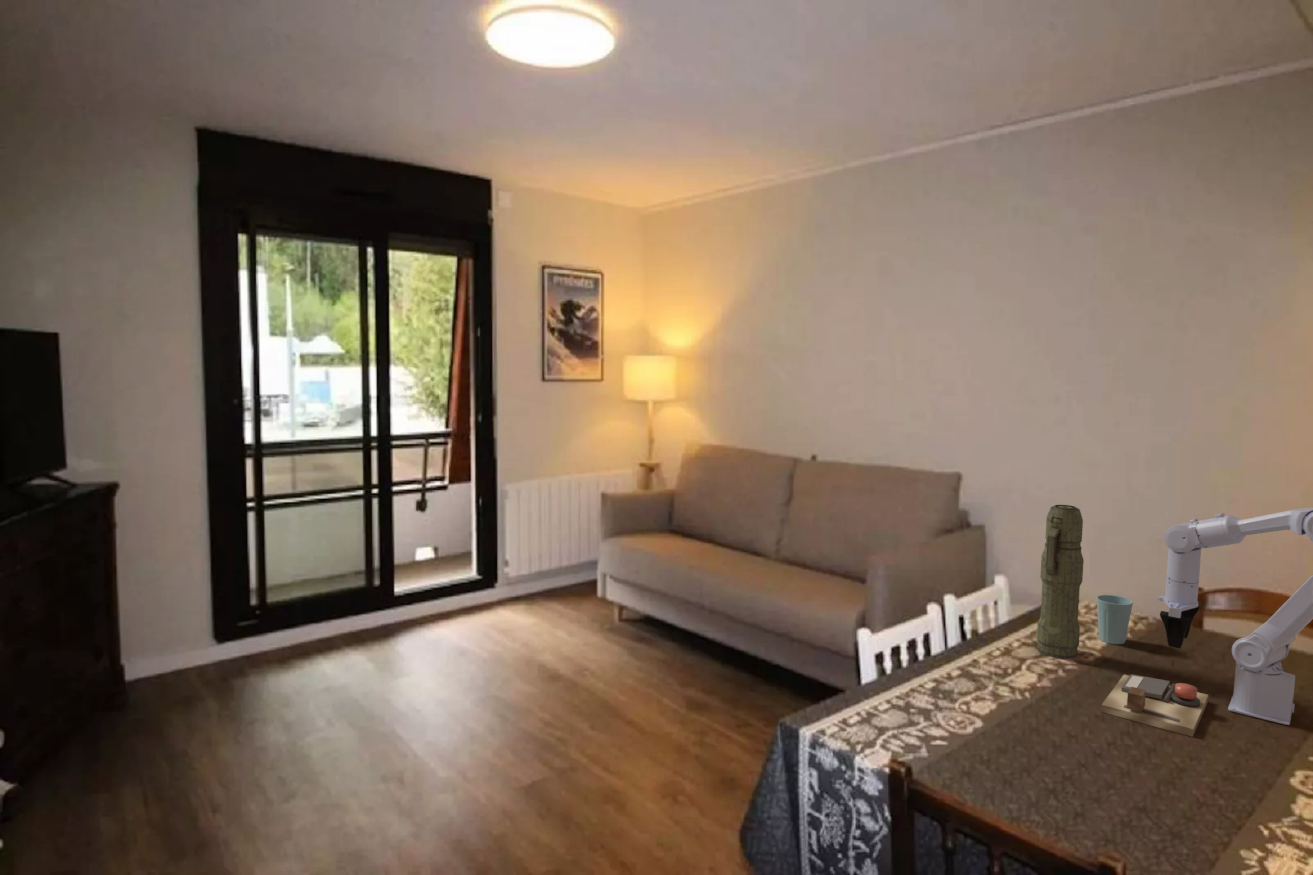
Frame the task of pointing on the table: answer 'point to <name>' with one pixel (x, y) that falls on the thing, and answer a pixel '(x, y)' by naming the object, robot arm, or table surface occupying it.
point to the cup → (1113, 618)
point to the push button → (1185, 691)
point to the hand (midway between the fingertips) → (1177, 641)
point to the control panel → (1159, 709)
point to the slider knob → (1136, 699)
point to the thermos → (1061, 583)
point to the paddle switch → (1147, 685)
